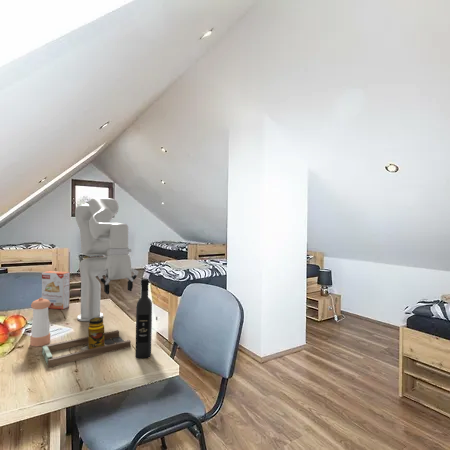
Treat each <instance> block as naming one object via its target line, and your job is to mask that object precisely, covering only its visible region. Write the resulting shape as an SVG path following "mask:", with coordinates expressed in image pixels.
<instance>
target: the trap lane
mask: <svg viewBox="0 0 450 450" xmlns="http://www.w3.org/2000/svg"><path fill="white" fill-rule="evenodd" d="M104 344H106V345H105V346H101V347H97V348H92V349H88V350H80V351H76V352H73V353H67V354H63V355H59V356H54V357H53V354H52V353H53V352H58V351H61V350H65V349H69V348H74V347H78V346H83V345H89V344H88V336H83V337H79V338H75V339H70V340H65V341H60V342H55V343H49V344H46V345H43V346H41V354H42V356H43V358H44V359H43V360H44V361H45V362H46V364H47V368H52V367H56V366H60V365H65V364H69V363H72V362H76V361H79V360H80V361H81V360H83V359H88V358H91V357H96V356H99V355H104V354H107V353H111V352H116V351H120V350H124V349H127V348H131V347H132V346H131V344H132V343H131V339H127V340H124V339H122V337H120V331H119V330H118V329H117V330H112V331H107V332H104Z"/></svg>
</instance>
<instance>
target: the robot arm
mask: <svg viewBox="0 0 450 450" xmlns="http://www.w3.org/2000/svg"><path fill="white" fill-rule="evenodd" d="M74 211H75V212H74V215H75V221H76V224H77V225H78V226H77V227H78V230H79V235H80V238H79V239H80V249H81V253H82V255H83V256H86V257H87V256H88V258H84V259H82V260H80V262H79V266H78V267H79V275H80V314H78V315H77V316H76V319H77V320H78V321H80V322H89V320H90V319H92V318H97V317H100V318H102V319H103V317H104V313H102V312H101V294H102V293H101V291H102V290H101V287H102V286H101V285H102V284H104V285H103V286H104V287H103V290H104V293H105V294H107V295H109V294H110V284H109V283H110V282H111V281H113V280H122V279H123V280H124V279H127V280H128V281H127V291H129V292H132V290H133V288H134V287H133V283H134V281H135V279H136V278H137V276H138V275H139V272H140V271H139V270H137V269H134V268H133V267H132V261H131V256H130V254H129V253H131V252H132V249H131V248H129V225H128V224H127V223H122V222H111V221H112V219H113V217H115V216H116V215H117V214H118V212H119V202H118V201H117V200H116V199H114V198H109V197H93V198H91V199H90V200H88V202H87V203H85V204H80V205H78V206H76V208H75V210H74ZM90 256H92V257H90ZM93 256H100V257H93ZM101 256H103V257H101ZM132 273H133V275H132ZM103 276H105V278H104V277H103ZM97 277H98V278H97ZM101 283H102V284H101Z"/></svg>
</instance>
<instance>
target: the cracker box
mask: <svg viewBox="0 0 450 450" xmlns="http://www.w3.org/2000/svg"><path fill="white" fill-rule="evenodd" d="M70 275H71V273H70V271H57V270H47V271H43V272H41V298H43V299H47V300H49V301H50V306H49V307H48V309H53V310H65V309H67V308H69V307H70V284H71V283H70V280H71V276H70Z"/></svg>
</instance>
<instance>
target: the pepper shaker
mask: <svg viewBox="0 0 450 450" xmlns="http://www.w3.org/2000/svg"><path fill="white" fill-rule="evenodd" d="M30 306H31V309H32V322H31V328H30V329H31V331H30V332H31V335H30V336H29V337H30V339H29V340H30V341H29V342H30V343H29V344H30V346H31V347H42V346H45V345H49V344H51V333H50V329H51V328H50V327H51V326H50V319H49V318H50V317H49V308H48V307H49V306H50V301H49V300H47V299H43V298H42V297H39V298H38V299H35V300H33V301H32V302H31V304H30Z"/></svg>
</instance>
